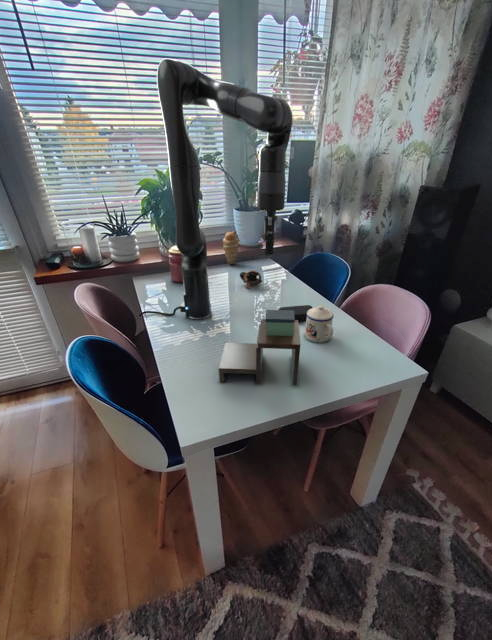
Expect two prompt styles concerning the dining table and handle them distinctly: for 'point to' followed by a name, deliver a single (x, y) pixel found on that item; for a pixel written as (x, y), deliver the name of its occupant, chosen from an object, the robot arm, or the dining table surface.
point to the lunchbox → (280, 322)
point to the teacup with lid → (319, 324)
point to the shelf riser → (258, 353)
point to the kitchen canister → (175, 264)
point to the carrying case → (298, 311)
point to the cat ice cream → (230, 246)
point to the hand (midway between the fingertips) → (269, 250)
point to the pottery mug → (251, 278)
